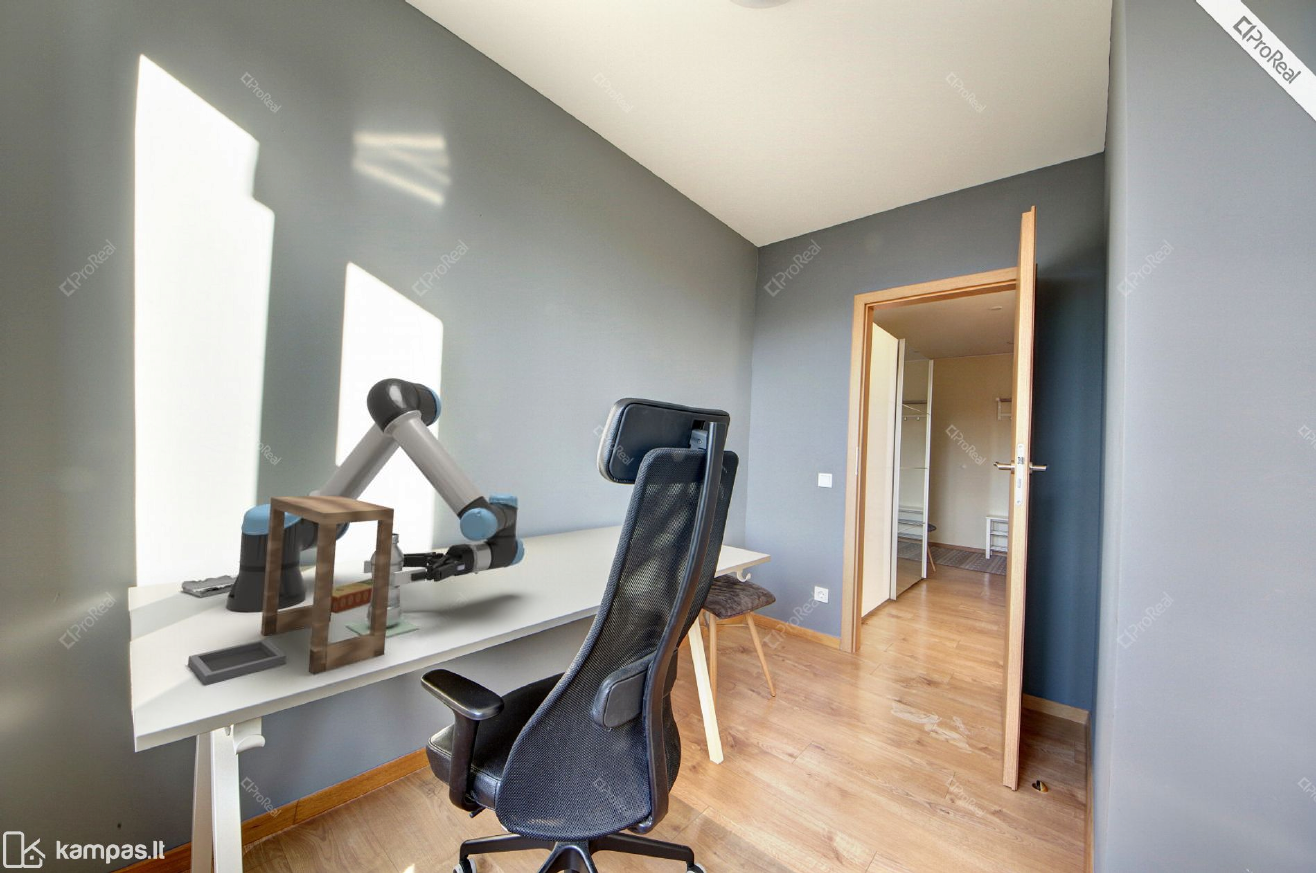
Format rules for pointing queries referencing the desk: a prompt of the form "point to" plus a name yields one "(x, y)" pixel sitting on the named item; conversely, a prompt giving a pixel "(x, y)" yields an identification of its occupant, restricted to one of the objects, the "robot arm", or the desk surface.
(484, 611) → the desk surface
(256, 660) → the grey shallow rectangular tray
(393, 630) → the pad
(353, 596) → the carton
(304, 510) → the wooden stool
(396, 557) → the plastic bottle
